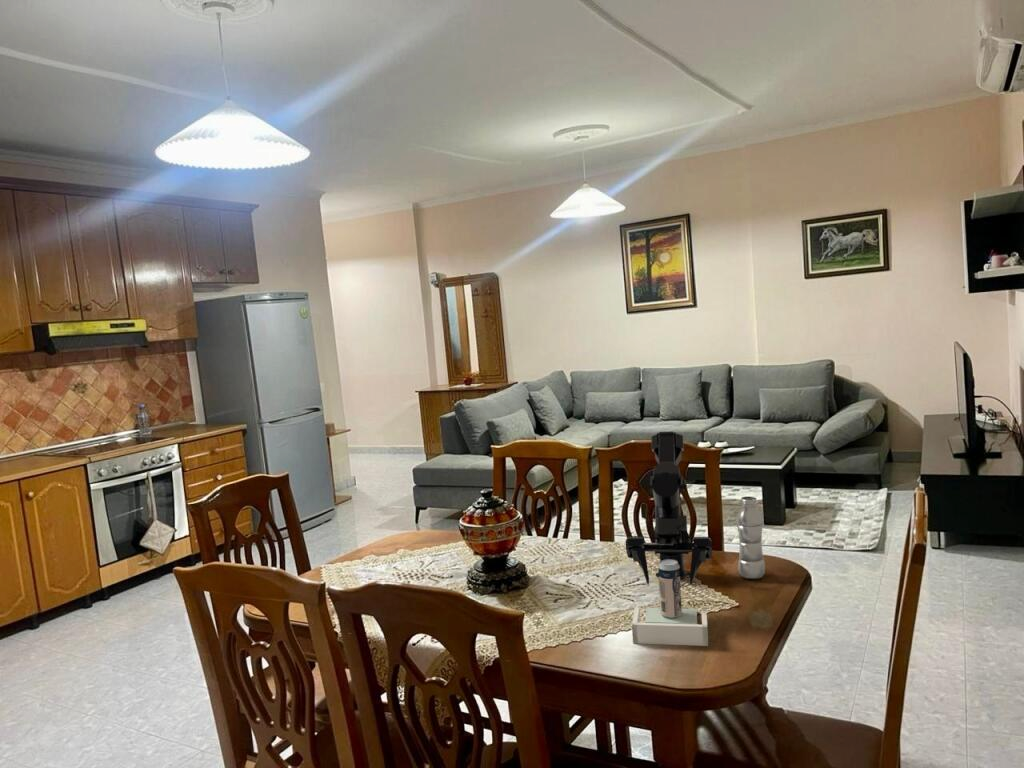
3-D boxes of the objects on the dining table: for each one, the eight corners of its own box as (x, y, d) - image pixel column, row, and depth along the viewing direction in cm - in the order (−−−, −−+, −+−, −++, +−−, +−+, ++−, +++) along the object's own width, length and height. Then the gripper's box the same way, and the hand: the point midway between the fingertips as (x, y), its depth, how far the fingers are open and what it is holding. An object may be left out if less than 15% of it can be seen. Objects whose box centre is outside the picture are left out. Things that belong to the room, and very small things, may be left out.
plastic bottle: (738, 581, 180) (735, 501, 178) (738, 571, 186) (735, 494, 185) (766, 582, 178) (763, 502, 176) (765, 572, 185) (762, 494, 183)
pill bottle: (682, 619, 159) (680, 565, 158) (660, 619, 160) (657, 565, 159) (682, 610, 164) (679, 558, 163) (660, 610, 165) (657, 558, 164)
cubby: (635, 624, 160) (634, 606, 159) (707, 626, 156) (706, 608, 156) (632, 643, 151) (631, 624, 151) (708, 645, 147) (707, 626, 147)
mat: (646, 610, 167) (646, 607, 167) (696, 611, 164) (696, 609, 164) (645, 624, 159) (645, 621, 159) (697, 626, 157) (697, 623, 157)
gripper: (623, 502, 165) (622, 566, 156) (709, 501, 161) (713, 567, 151) (628, 526, 174) (627, 588, 164) (709, 526, 169) (713, 590, 160)
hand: (669, 583), depth 160 cm, fingers open, 9 cm apart
